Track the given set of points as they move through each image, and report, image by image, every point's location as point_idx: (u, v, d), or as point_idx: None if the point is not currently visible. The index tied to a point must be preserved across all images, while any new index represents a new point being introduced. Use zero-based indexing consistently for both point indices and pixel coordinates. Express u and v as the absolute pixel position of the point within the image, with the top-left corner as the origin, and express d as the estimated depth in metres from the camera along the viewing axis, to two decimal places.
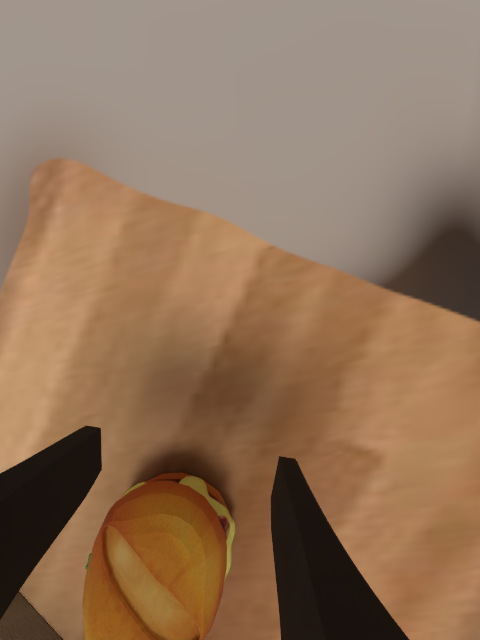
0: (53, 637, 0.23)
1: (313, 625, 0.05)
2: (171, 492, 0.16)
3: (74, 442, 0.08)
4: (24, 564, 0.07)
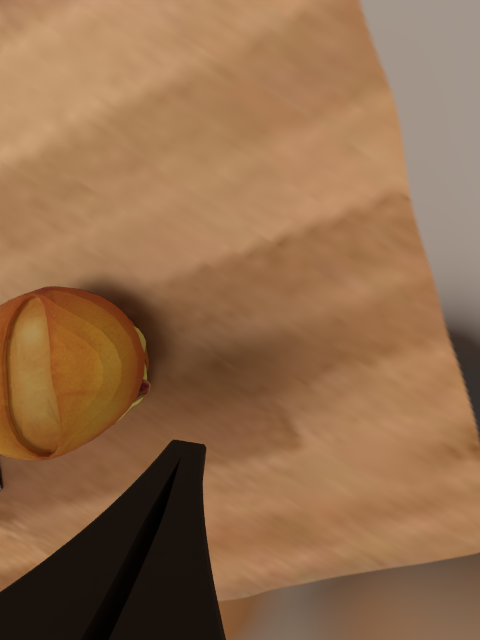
0: None
1: None
2: (121, 323, 0.14)
3: (174, 459, 0.08)
4: None
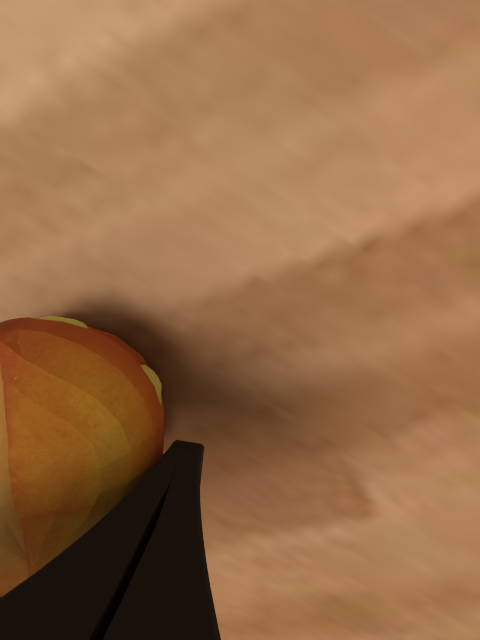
0: None
1: None
2: (130, 377, 0.09)
3: (177, 459, 0.08)
4: None
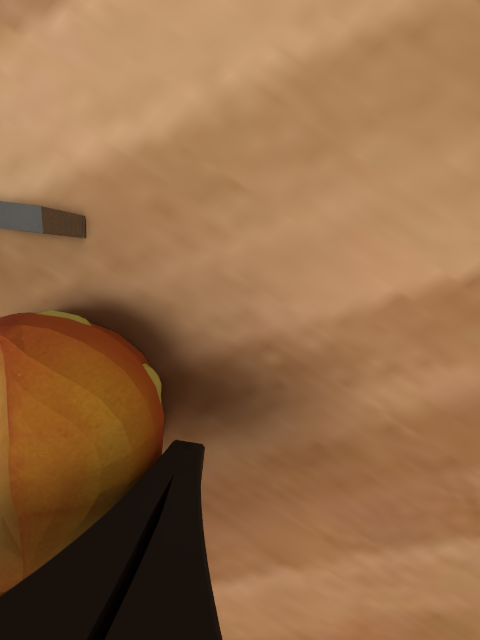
0: None
1: None
2: (132, 377, 0.09)
3: (176, 459, 0.08)
4: None
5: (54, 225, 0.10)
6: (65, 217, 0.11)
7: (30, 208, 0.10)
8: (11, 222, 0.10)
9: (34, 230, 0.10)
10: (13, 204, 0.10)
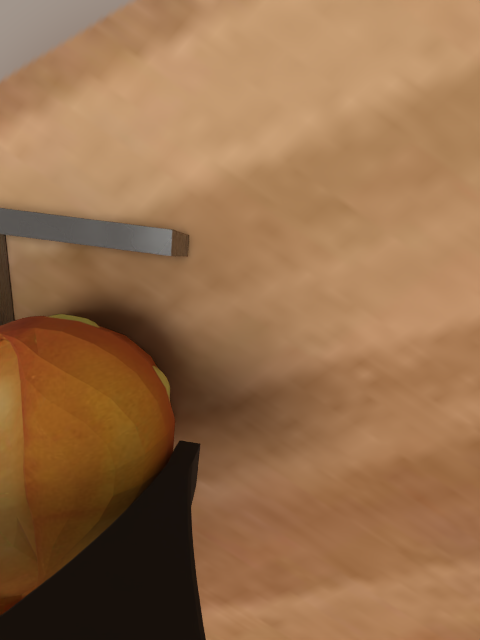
0: None
1: None
2: (143, 378, 0.09)
3: (186, 460, 0.08)
4: None
5: (176, 247, 0.10)
6: (181, 238, 0.11)
7: (160, 231, 0.10)
8: (139, 245, 0.10)
9: (162, 253, 0.10)
10: (144, 227, 0.10)
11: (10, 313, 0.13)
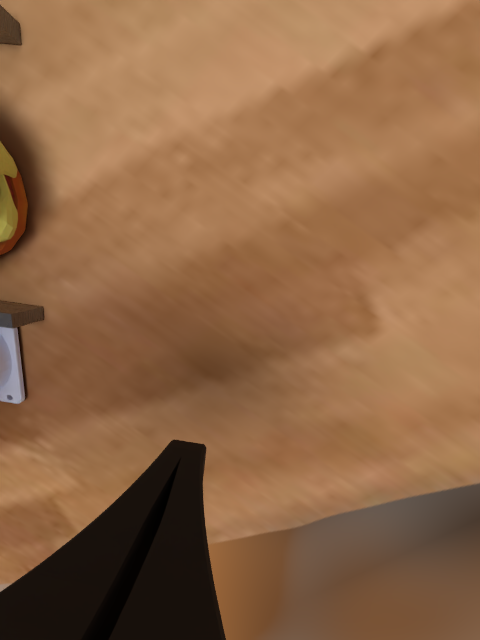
0: None
1: None
2: None
3: (174, 459, 0.08)
4: None
5: None
6: None
7: None
8: None
9: None
10: None
11: None
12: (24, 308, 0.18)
